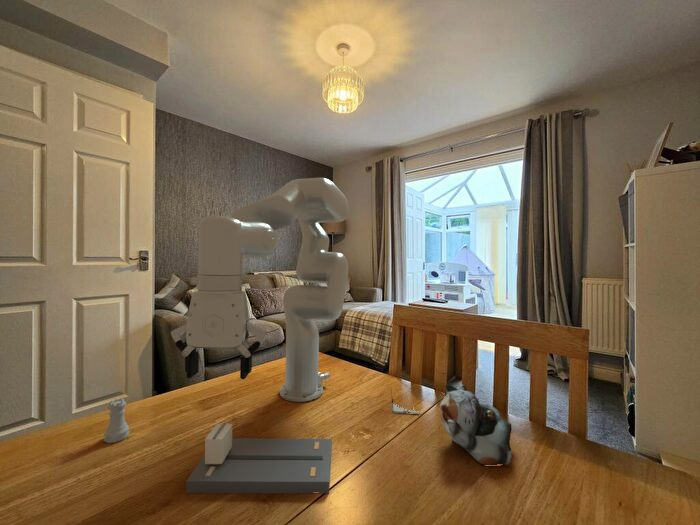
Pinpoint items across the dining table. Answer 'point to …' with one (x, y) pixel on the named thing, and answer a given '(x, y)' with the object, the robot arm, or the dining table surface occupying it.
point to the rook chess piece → (116, 422)
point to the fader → (218, 444)
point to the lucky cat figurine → (476, 426)
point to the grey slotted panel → (267, 468)
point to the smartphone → (402, 409)
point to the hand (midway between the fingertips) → (218, 376)
